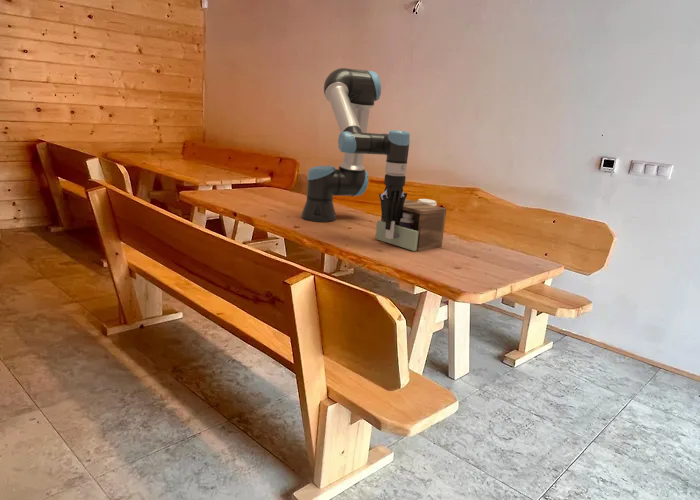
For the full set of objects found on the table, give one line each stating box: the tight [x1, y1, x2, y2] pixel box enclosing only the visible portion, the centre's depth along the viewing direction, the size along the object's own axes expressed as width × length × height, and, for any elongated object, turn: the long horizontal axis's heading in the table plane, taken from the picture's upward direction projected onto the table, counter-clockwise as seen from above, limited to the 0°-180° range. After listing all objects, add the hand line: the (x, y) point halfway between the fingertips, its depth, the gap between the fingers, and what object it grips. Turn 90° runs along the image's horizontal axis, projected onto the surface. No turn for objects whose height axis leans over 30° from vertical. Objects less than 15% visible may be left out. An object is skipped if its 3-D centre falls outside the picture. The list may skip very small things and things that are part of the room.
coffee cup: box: [417, 198, 438, 206], centre depth 214 cm, size 8×8×15 cm
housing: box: [380, 198, 448, 252], centre depth 201 cm, size 20×14×15 cm
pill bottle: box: [400, 212, 414, 230], centre depth 199 cm, size 5×5×10 cm
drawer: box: [375, 220, 419, 252], centre depth 200 cm, size 20×16×7 cm
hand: (389, 237), depth 194 cm, fingers closed
